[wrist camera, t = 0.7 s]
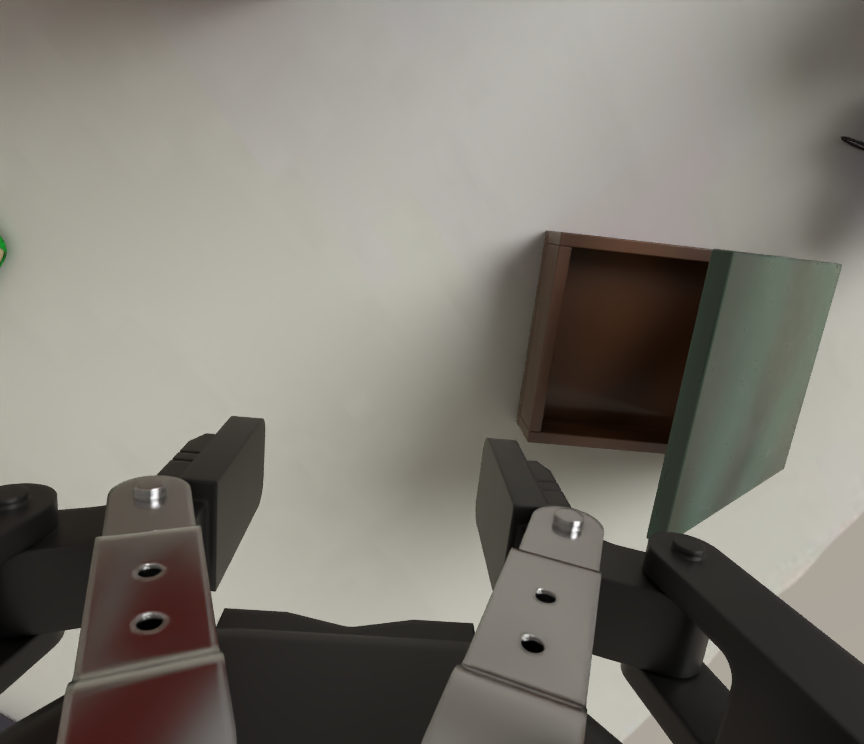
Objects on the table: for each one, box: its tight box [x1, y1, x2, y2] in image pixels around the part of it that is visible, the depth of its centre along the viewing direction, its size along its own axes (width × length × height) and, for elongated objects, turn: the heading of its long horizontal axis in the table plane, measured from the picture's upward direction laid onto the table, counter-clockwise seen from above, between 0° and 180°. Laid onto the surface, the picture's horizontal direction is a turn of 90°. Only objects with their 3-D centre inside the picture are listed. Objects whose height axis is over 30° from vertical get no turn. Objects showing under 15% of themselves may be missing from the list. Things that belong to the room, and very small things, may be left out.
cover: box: [647, 249, 842, 539], centre depth 28 cm, size 15×12×1 cm
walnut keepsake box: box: [516, 231, 713, 454], centre depth 34 cm, size 15×12×4 cm
